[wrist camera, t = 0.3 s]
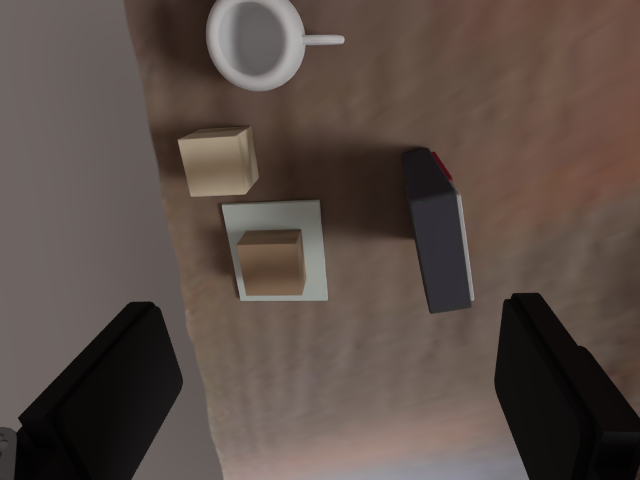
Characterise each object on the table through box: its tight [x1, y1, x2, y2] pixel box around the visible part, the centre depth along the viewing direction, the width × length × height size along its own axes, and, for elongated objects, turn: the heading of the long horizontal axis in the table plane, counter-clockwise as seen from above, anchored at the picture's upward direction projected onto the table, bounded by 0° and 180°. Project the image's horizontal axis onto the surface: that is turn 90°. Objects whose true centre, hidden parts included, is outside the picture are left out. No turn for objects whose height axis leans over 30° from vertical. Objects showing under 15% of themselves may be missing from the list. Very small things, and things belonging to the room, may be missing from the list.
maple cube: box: [178, 126, 259, 197], centre depth 42 cm, size 6×6×6 cm
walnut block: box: [237, 229, 307, 296], centre depth 48 cm, size 7×7×4 cm
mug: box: [206, 0, 345, 91], centre depth 36 cm, size 12×8×8 cm
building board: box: [222, 200, 328, 301], centre depth 50 cm, size 14×12×1 cm
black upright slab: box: [401, 148, 474, 314], centre depth 38 cm, size 11×4×15 cm, turn 15°
